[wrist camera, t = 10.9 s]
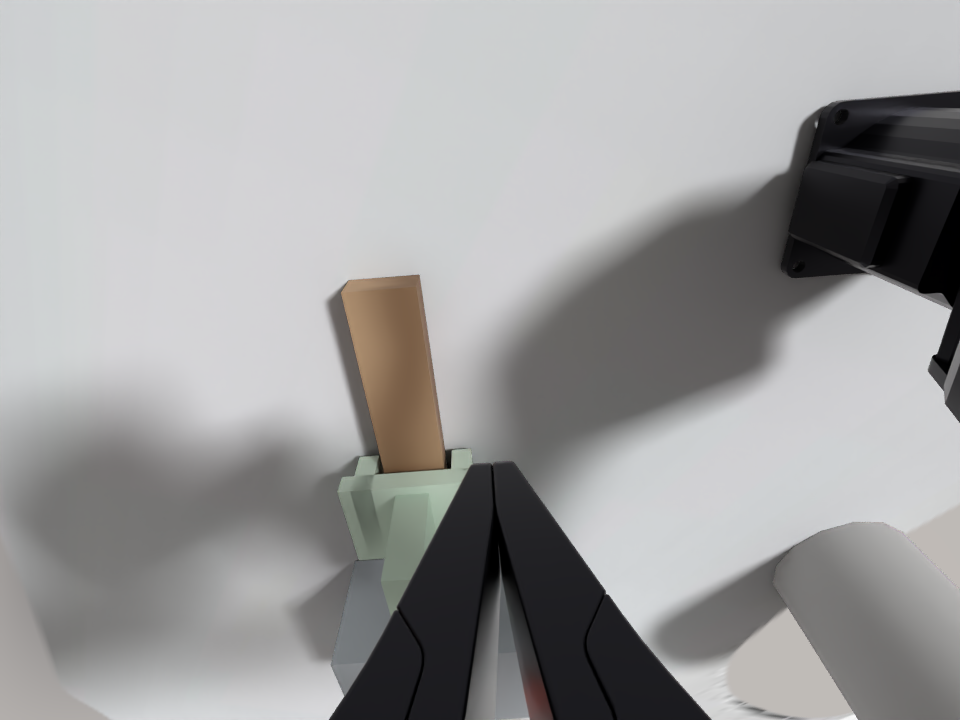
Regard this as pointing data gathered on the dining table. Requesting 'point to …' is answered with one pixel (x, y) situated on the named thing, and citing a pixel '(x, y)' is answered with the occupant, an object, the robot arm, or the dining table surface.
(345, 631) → the housing
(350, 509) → the carriage
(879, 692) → the cup
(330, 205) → the dining table surface
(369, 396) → the rail
